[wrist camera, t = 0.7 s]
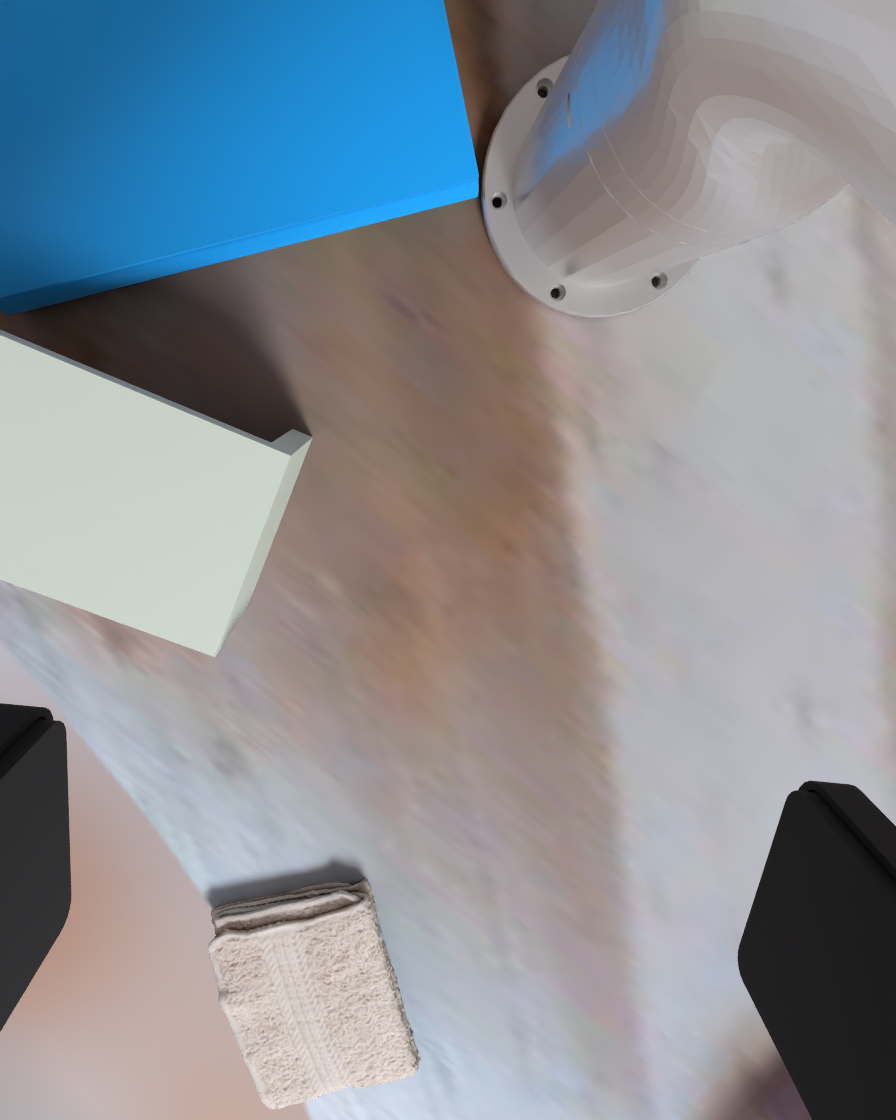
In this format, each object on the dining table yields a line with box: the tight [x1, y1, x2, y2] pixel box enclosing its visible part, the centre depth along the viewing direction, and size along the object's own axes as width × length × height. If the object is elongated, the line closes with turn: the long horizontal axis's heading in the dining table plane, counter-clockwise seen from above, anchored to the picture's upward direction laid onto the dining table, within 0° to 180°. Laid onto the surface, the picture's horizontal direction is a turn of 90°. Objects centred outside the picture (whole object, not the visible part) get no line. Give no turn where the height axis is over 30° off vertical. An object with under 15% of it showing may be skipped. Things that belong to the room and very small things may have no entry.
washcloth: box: [208, 879, 421, 1109], centre depth 50 cm, size 12×18×3 cm, turn 12°
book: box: [0, 0, 479, 315], centre depth 34 cm, size 17×4×25 cm
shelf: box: [0, 330, 313, 657], centre depth 36 cm, size 11×21×8 cm, turn 66°
